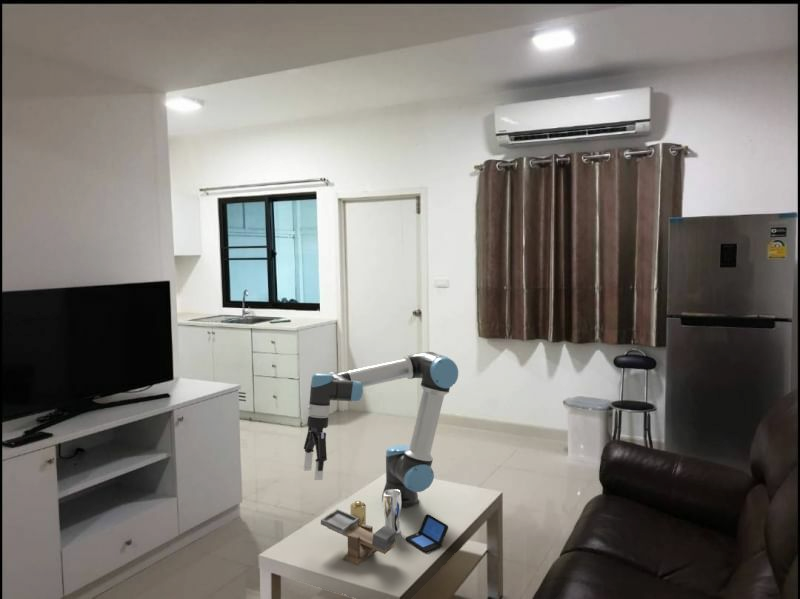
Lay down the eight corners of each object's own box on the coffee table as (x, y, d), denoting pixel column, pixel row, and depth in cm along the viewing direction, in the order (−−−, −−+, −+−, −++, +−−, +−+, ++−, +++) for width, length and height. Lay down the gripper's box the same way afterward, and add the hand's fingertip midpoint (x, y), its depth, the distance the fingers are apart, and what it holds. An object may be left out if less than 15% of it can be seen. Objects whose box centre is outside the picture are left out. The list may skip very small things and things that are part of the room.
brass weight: (356, 528, 228) (355, 497, 227) (368, 532, 225) (368, 501, 224) (347, 535, 223) (347, 503, 222) (360, 538, 220) (360, 506, 219)
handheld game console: (404, 540, 219) (404, 521, 219) (426, 532, 226) (426, 513, 225) (425, 554, 209) (425, 534, 209) (449, 545, 216) (449, 525, 215)
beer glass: (403, 528, 228) (403, 490, 227) (397, 536, 221) (397, 497, 220) (386, 525, 230) (386, 487, 229) (380, 533, 224) (380, 495, 222)
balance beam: (336, 517, 219) (337, 503, 218) (396, 544, 207) (398, 529, 206) (320, 528, 211) (321, 513, 210) (381, 556, 199) (383, 541, 198)
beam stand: (362, 544, 216) (362, 521, 215) (376, 548, 213) (376, 525, 212) (343, 559, 205) (343, 536, 205) (357, 564, 202) (357, 540, 202)
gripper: (299, 410, 229) (293, 466, 228) (318, 421, 207) (312, 484, 205) (318, 411, 232) (312, 466, 231) (339, 422, 210) (333, 483, 209)
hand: (312, 474), depth 218 cm, fingers open, 13 cm apart
